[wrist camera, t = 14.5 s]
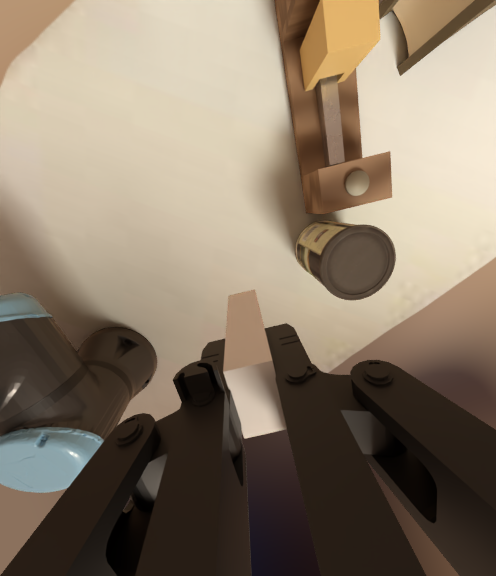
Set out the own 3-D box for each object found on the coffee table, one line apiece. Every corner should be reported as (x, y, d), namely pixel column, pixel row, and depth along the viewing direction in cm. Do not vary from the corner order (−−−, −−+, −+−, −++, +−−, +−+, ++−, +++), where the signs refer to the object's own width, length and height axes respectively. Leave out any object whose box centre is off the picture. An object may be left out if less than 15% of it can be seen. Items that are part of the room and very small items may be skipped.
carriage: (344, 81, 36) (380, 39, 27) (304, 91, 36) (327, 53, 27) (340, 39, 34) (377, -20, 26) (299, 50, 35) (322, -5, 26)
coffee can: (336, 280, 48) (375, 308, 34) (287, 266, 46) (308, 289, 33) (358, 229, 45) (410, 238, 31) (306, 212, 43) (338, 214, 30)
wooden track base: (360, 199, 43) (394, 197, 34) (306, 212, 43) (325, 214, 34) (343, -24, 34) (383, -109, 25) (273, -5, 34) (288, -83, 25)
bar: (339, 163, 40) (344, 161, 38) (325, 167, 40) (329, 165, 38) (326, 34, 34) (331, 24, 33) (310, 39, 34) (314, 29, 33)
